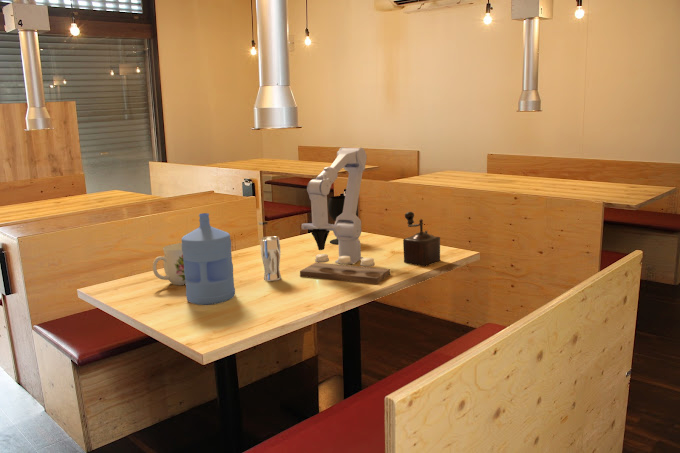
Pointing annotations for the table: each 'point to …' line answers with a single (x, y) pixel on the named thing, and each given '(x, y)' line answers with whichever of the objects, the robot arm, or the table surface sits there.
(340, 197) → the wine glass
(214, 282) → the water jug
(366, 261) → the knob
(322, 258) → the knob
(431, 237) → the manual coffee grinder
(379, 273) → the wooden board with recesses
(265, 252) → the beer glass
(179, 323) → the table surface
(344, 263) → the knob
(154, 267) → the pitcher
